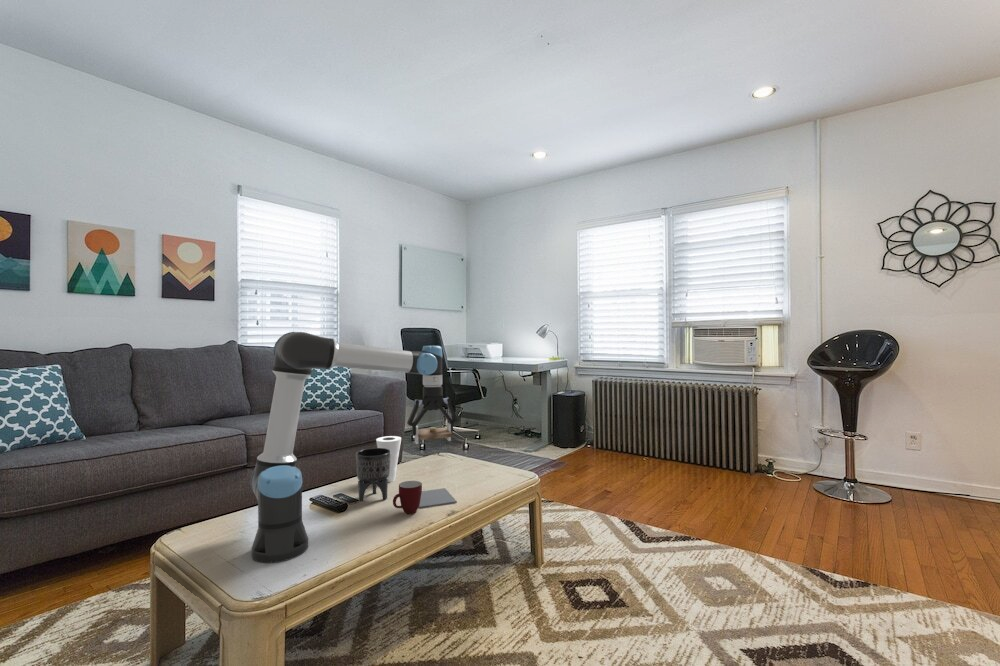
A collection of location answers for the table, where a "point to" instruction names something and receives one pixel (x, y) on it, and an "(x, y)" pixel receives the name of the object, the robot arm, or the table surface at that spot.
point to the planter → (373, 470)
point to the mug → (409, 496)
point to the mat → (436, 498)
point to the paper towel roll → (394, 447)
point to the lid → (434, 433)
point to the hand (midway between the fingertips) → (432, 441)
